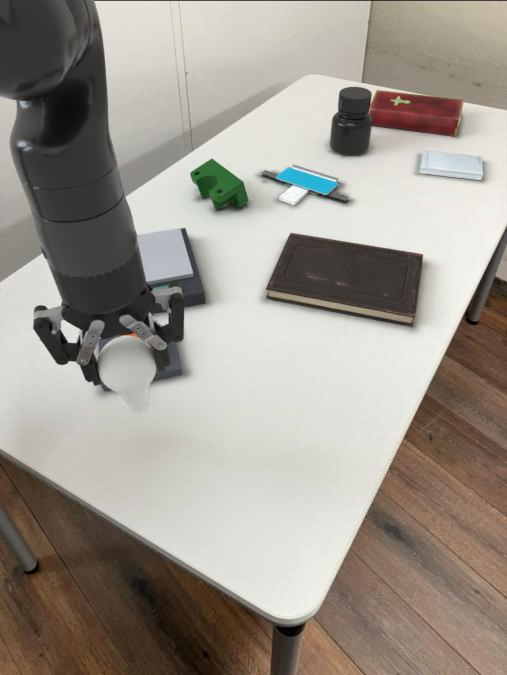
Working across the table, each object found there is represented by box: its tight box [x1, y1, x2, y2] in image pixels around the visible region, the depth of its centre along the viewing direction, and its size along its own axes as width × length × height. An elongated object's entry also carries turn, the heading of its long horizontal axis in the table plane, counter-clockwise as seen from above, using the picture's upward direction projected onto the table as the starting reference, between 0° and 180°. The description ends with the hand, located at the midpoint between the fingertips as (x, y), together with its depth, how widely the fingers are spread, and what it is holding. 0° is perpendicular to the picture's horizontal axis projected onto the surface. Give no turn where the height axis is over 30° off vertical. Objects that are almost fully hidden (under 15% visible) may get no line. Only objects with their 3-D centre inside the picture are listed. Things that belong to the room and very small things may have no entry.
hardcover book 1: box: [265, 232, 424, 328], centre depth 84 cm, size 16×23×2 cm
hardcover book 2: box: [368, 89, 465, 137], centre depth 123 cm, size 12×21×4 cm, turn 71°
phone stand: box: [260, 164, 350, 206], centre depth 104 cm, size 20×12×2 cm, turn 56°
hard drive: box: [418, 149, 484, 181], centre depth 108 cm, size 2×8×12 cm
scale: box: [137, 227, 207, 314], centre depth 85 cm, size 15×18×3 cm
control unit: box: [97, 335, 184, 392], centre depth 73 cm, size 11×9×3 cm
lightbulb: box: [97, 336, 157, 415], centre depth 55 cm, size 6×6×11 cm
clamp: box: [189, 158, 249, 211], centre depth 100 cm, size 12×6×9 cm, turn 29°
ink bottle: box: [329, 86, 373, 156], centre depth 112 cm, size 10×9×12 cm
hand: (129, 372), depth 55 cm, fingers closed on lightbulb, 6 cm apart
